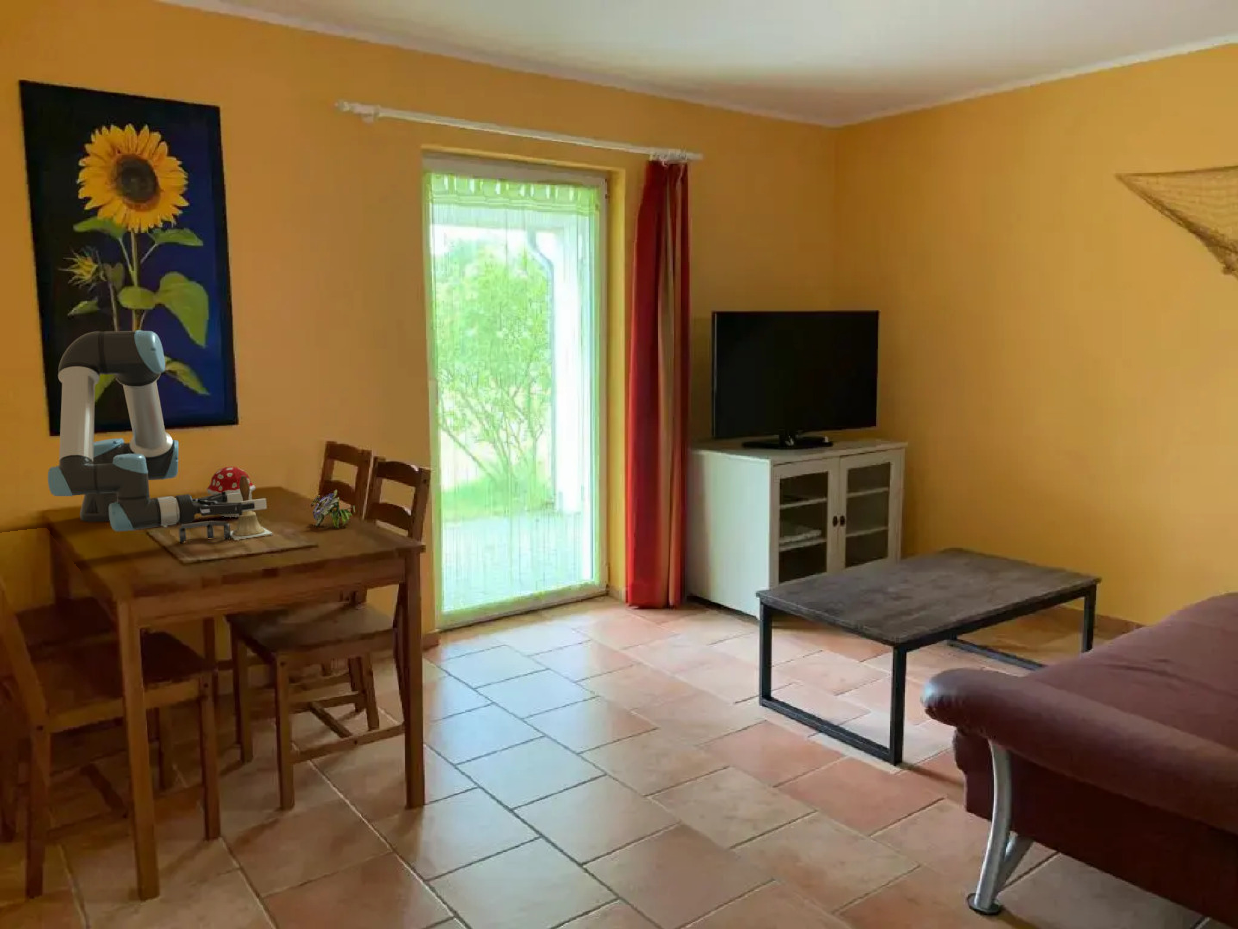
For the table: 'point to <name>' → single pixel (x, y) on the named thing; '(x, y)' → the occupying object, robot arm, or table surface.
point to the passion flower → (330, 509)
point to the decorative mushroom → (228, 483)
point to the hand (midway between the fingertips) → (258, 499)
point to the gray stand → (209, 529)
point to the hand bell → (247, 514)
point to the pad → (251, 535)
